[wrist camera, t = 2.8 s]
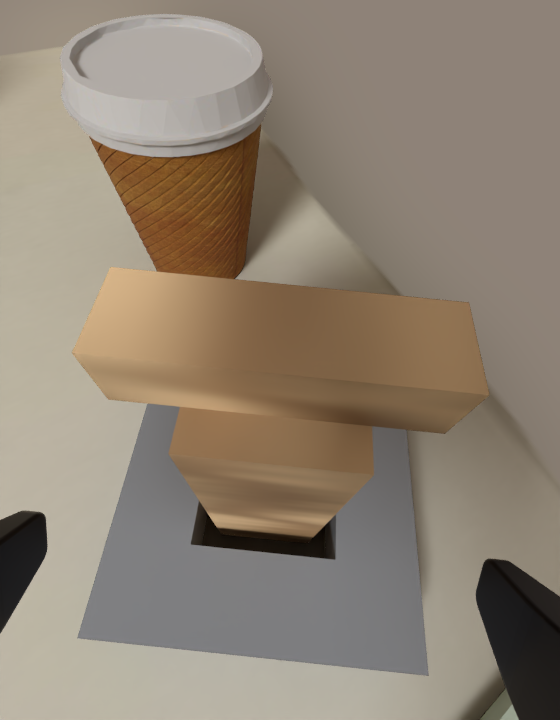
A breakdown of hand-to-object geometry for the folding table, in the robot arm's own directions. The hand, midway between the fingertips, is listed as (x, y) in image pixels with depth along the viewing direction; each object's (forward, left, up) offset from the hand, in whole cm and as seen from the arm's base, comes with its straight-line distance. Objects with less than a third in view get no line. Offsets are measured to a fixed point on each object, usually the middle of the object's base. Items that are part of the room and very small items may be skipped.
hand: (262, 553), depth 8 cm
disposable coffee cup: (+19, -7, -11) cm, 23 cm away
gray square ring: (+3, -2, -11) cm, 11 cm away
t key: (+3, -2, -11) cm, 11 cm away
